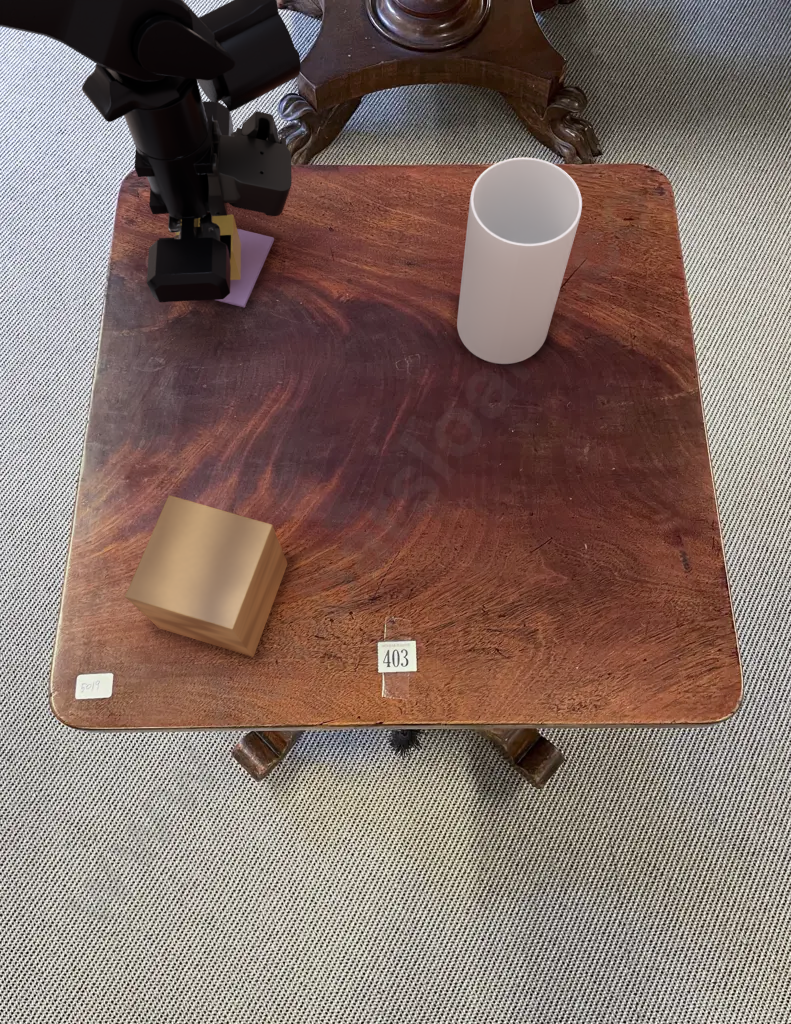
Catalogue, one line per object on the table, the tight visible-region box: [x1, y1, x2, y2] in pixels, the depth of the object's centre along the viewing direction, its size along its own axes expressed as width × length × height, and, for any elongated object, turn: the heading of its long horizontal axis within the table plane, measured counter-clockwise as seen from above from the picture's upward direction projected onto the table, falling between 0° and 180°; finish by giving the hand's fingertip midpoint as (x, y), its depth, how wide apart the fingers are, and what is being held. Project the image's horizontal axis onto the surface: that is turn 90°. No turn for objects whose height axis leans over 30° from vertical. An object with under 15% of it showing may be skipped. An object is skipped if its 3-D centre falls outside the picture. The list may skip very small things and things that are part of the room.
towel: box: [216, 228, 275, 308], centre depth 80 cm, size 8×8×1 cm
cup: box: [456, 156, 583, 365], centre depth 70 cm, size 8×8×16 cm
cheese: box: [175, 214, 241, 280], centre depth 77 cm, size 5×4×4 cm
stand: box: [124, 494, 288, 658], centre depth 64 cm, size 8×8×9 cm
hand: (212, 263), depth 79 cm, fingers closed on cheese, 4 cm apart
